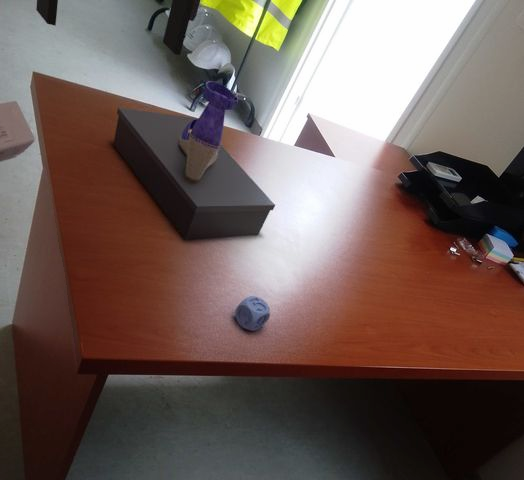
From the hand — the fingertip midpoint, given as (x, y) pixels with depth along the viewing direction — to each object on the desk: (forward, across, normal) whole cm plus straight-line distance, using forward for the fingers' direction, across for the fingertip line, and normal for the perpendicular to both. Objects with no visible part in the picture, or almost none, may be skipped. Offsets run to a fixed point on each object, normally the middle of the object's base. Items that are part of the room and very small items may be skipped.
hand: (114, 35), depth 47 cm
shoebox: (+31, +30, +18) cm, 47 cm away
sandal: (+24, +29, +17) cm, 41 cm away
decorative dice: (+31, +21, -18) cm, 41 cm away
